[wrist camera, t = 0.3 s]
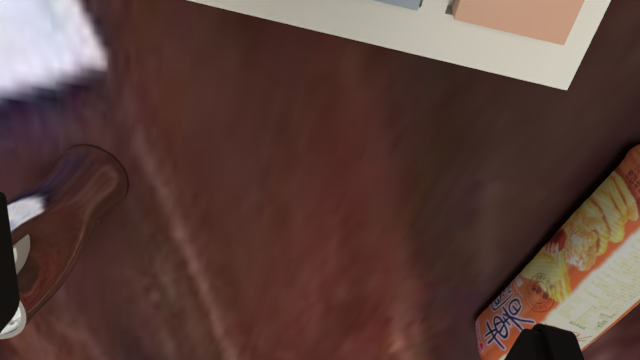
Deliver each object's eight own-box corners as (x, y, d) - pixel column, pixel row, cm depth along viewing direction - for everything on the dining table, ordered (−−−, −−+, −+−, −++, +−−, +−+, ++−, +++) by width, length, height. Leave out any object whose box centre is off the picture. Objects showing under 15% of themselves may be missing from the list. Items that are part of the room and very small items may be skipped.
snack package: (528, 342, 49) (543, 407, 43) (465, 314, 48) (471, 377, 43) (713, 166, 38) (766, 224, 32) (633, 126, 37) (672, 179, 31)
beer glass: (46, 182, 47) (-87, 308, 34) (67, 124, 43) (-73, 240, 31) (118, 221, 48) (15, 356, 36) (145, 168, 45) (40, 297, 32)
